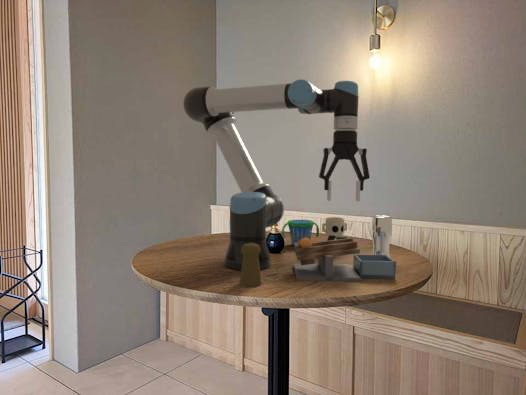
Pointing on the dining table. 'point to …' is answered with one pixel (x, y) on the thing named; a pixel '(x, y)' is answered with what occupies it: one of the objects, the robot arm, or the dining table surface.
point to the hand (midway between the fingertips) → (343, 200)
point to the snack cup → (300, 230)
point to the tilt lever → (326, 249)
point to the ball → (305, 243)
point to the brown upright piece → (250, 265)
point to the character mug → (334, 227)
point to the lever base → (326, 271)
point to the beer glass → (381, 234)
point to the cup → (374, 266)
